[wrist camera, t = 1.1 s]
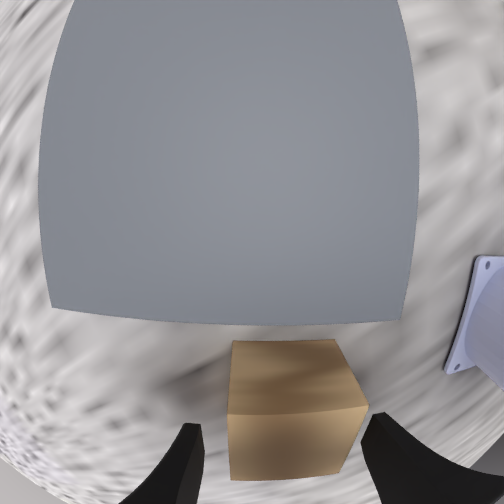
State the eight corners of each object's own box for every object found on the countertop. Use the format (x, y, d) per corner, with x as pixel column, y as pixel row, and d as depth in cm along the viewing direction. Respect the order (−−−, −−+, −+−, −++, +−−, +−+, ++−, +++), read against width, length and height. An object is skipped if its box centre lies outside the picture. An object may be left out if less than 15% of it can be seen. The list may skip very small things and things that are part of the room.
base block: (370, 21, 9) (394, -8, 6) (370, 292, 12) (399, 319, 9) (100, 23, 9) (75, -2, 6) (85, 284, 12) (51, 307, 9)
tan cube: (334, 338, 13) (369, 405, 8) (319, 407, 14) (338, 473, 9) (232, 339, 13) (227, 414, 8) (233, 410, 14) (230, 480, 9)
